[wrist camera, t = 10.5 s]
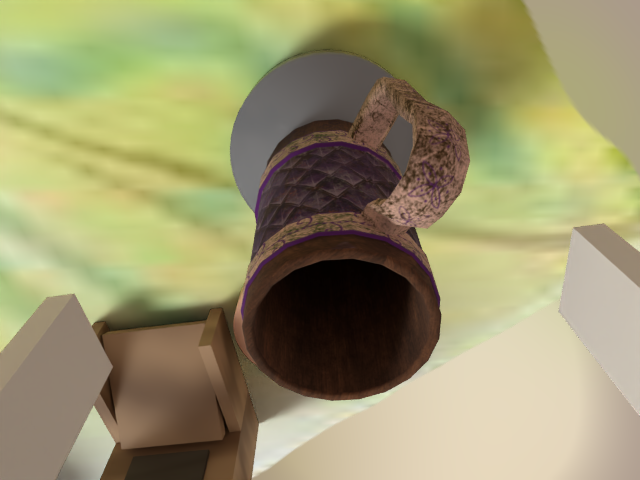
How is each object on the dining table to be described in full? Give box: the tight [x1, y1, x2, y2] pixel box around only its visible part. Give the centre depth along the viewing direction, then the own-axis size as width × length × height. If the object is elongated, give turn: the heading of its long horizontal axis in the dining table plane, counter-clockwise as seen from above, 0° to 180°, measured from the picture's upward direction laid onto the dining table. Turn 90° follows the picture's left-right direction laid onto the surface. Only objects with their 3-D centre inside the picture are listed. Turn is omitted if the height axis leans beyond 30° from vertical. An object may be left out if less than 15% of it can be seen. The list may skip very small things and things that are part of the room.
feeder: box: [92, 308, 259, 480], centre depth 28 cm, size 12×9×12 cm
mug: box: [241, 77, 470, 401], centre depth 17 cm, size 10×7×12 cm
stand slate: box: [230, 50, 413, 213], centre depth 23 cm, size 10×10×2 cm
